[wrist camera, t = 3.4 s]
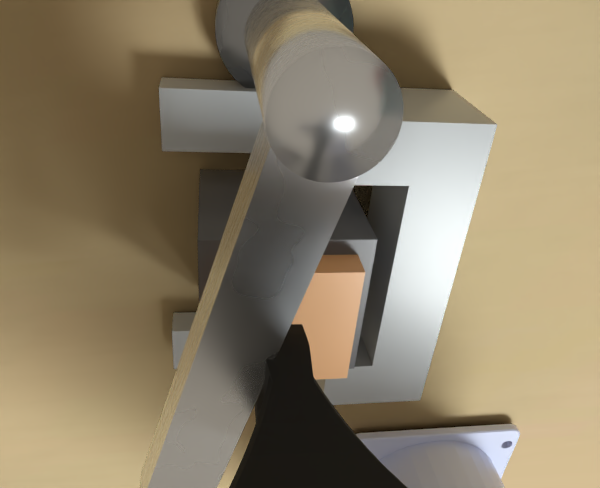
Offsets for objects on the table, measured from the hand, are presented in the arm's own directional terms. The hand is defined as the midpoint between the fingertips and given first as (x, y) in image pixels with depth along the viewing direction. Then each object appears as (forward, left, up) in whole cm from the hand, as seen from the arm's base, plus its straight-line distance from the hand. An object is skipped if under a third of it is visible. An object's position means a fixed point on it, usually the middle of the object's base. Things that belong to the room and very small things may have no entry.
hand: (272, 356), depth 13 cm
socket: (0, 0, -6) cm, 6 cm away
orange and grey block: (0, 0, -6) cm, 6 cm away
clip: (+2, +1, -4) cm, 5 cm away
